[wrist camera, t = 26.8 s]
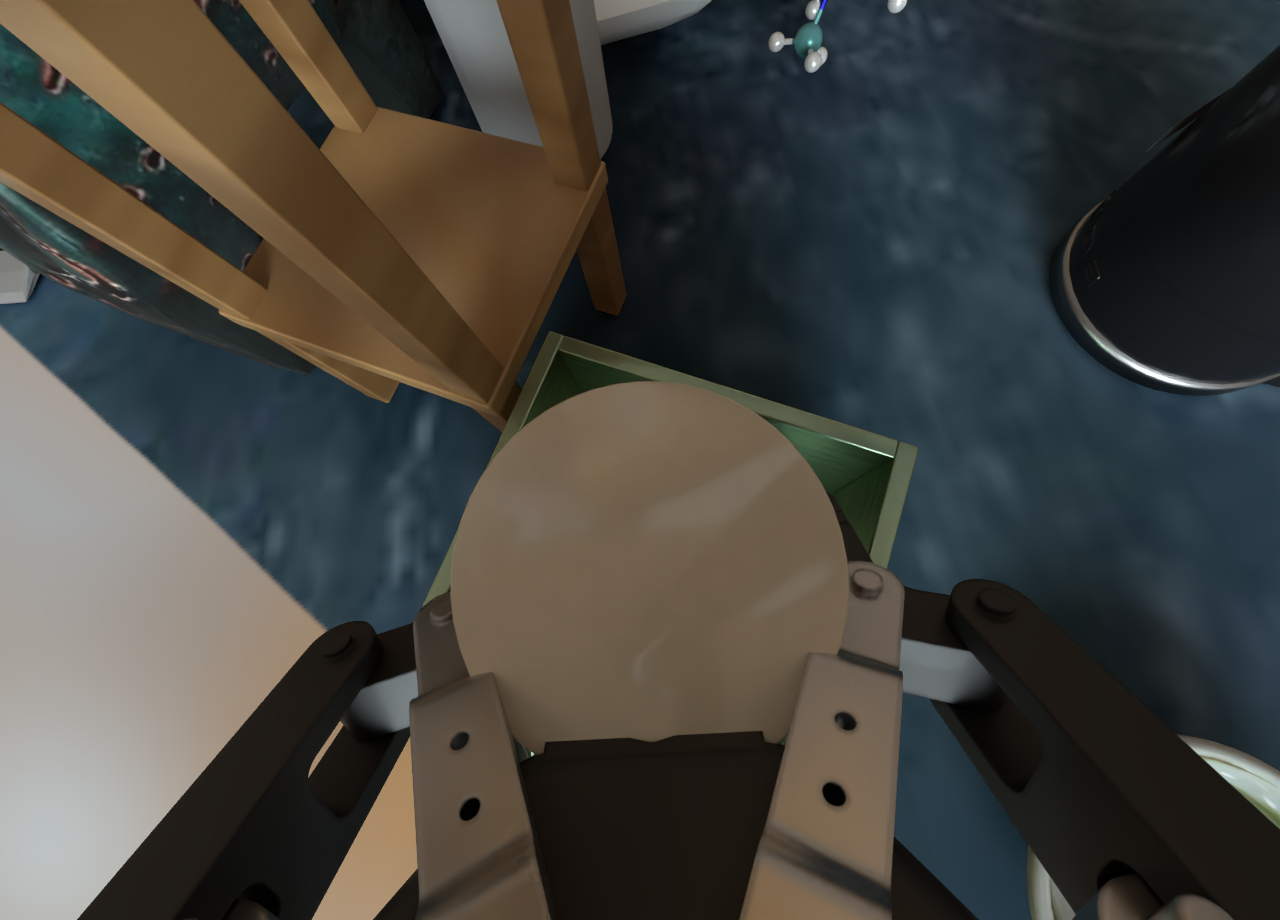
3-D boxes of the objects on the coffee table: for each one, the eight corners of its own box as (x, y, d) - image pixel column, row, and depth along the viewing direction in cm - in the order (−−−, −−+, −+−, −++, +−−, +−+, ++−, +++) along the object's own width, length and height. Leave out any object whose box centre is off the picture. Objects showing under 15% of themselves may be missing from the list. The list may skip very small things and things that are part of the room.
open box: (829, 496, 19) (919, 446, 12) (749, 763, 17) (800, 900, 10) (594, 416, 21) (548, 330, 14) (497, 650, 19) (379, 695, 12)
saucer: (1389, 1001, 14) (1528, 1085, 12) (1090, 1114, 14) (1170, 1220, 12) (1187, 674, 17) (1269, 690, 14) (932, 769, 17) (973, 800, 14)
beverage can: (492, 201, 24) (320, -139, 13) (500, 104, 26) (354, -278, 14) (614, 192, 24) (550, -170, 12) (615, 94, 25) (560, -311, 14)
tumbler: (777, 521, 17) (900, 446, 7) (721, 698, 16) (781, 884, 6) (616, 464, 18) (541, 333, 8) (552, 625, 17) (376, 687, 7)
